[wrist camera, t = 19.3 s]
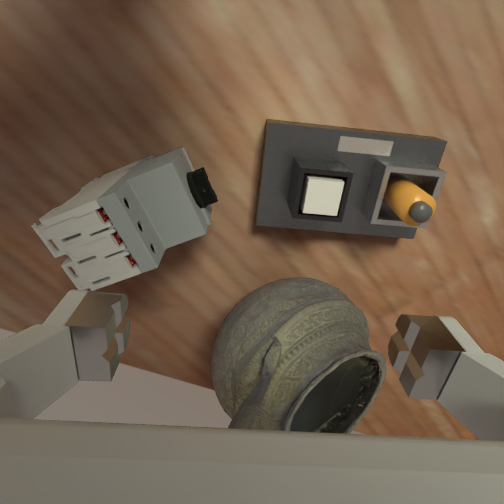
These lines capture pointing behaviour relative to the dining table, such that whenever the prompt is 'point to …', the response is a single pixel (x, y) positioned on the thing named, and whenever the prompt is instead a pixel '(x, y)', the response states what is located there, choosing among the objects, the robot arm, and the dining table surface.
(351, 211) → the grey socket board
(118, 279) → the circuit breaker
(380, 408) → the dining table surface
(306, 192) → the button
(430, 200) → the orange rounded cylinder
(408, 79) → the dining table surface
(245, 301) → the pot
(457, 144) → the dining table surface
